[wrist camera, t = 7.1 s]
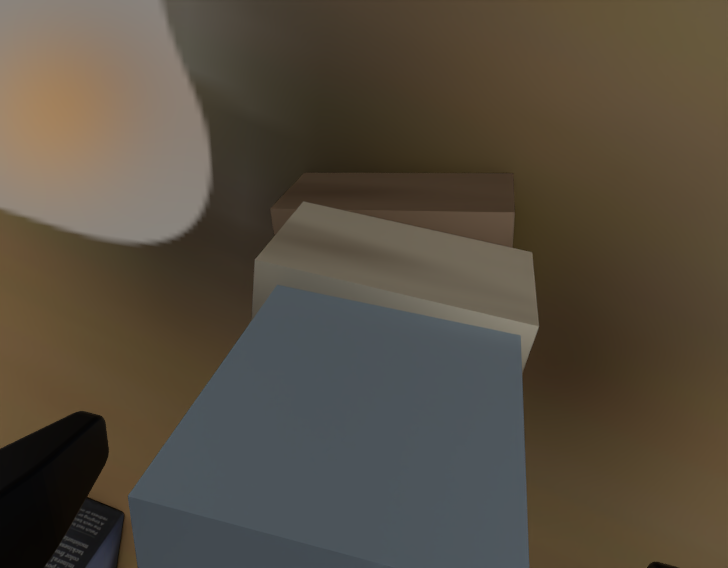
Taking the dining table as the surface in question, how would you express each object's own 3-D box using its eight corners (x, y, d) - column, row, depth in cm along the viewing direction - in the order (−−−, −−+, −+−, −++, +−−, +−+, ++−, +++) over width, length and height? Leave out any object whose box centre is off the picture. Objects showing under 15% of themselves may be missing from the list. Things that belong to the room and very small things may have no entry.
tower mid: (474, 426, 15) (468, 519, 13) (285, 377, 16) (243, 457, 13) (532, 252, 13) (539, 326, 10) (303, 201, 13) (255, 259, 11)
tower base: (502, 347, 18) (502, 413, 15) (326, 336, 19) (297, 395, 16) (513, 169, 15) (514, 212, 12) (307, 169, 16) (269, 208, 14)
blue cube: (469, 505, 13) (450, 787, 8) (270, 455, 13) (155, 695, 9) (520, 335, 10) (530, 604, 6) (277, 284, 11) (127, 496, 7)
